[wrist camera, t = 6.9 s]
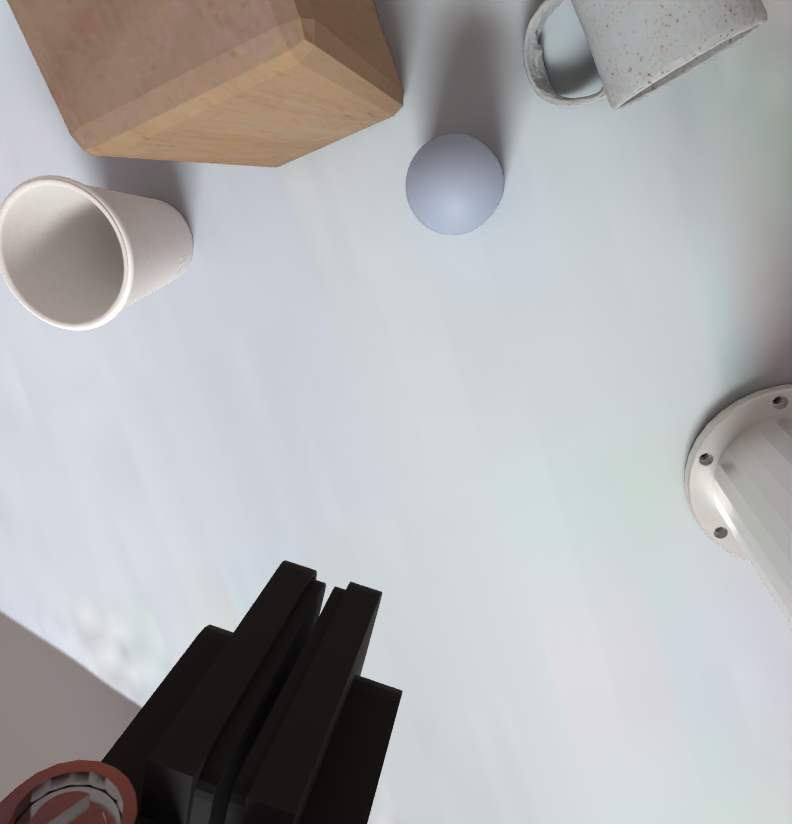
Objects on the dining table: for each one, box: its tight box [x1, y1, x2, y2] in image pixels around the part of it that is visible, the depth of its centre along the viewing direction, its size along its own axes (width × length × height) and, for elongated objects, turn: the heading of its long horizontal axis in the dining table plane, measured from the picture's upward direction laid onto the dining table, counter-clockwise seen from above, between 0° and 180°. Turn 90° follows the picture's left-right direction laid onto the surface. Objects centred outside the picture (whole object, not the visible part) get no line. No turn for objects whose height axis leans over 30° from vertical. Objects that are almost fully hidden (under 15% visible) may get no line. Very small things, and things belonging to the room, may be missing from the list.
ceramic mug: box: [523, 0, 767, 109], centre depth 33 cm, size 11×8×8 cm
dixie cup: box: [0, 176, 193, 330], centre depth 40 cm, size 8×8×10 cm
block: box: [7, 0, 404, 167], centre depth 30 cm, size 10×10×20 cm
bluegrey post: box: [406, 133, 504, 235], centre depth 37 cm, size 5×5×7 cm
